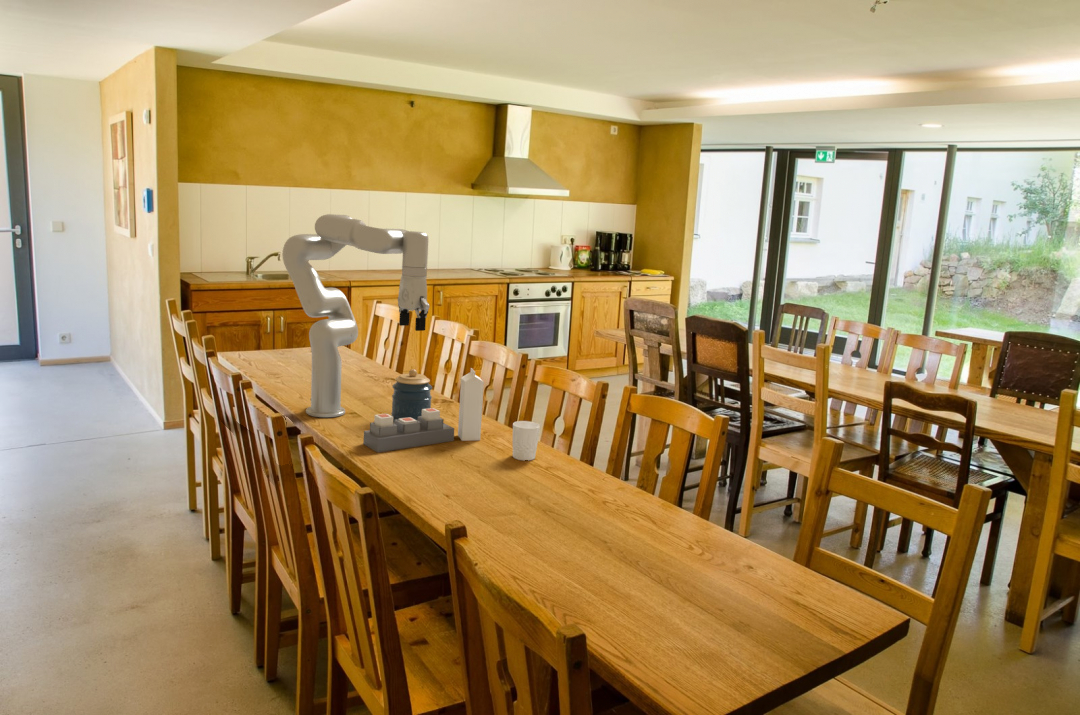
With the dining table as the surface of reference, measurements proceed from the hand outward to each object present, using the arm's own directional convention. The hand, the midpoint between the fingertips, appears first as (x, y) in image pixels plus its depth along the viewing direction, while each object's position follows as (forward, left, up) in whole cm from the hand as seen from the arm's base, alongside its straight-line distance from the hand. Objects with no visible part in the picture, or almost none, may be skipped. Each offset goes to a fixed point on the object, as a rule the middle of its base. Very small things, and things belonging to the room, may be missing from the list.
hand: (412, 327), depth 236 cm
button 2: (+10, -6, -29) cm, 31 cm away
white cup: (+37, +18, -34) cm, 53 cm away
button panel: (+10, -5, -33) cm, 35 cm away
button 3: (+10, +2, -27) cm, 29 cm away
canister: (-10, +7, -34) cm, 36 cm away
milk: (+14, +14, -34) cm, 39 cm away
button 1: (+10, -14, -27) cm, 32 cm away
